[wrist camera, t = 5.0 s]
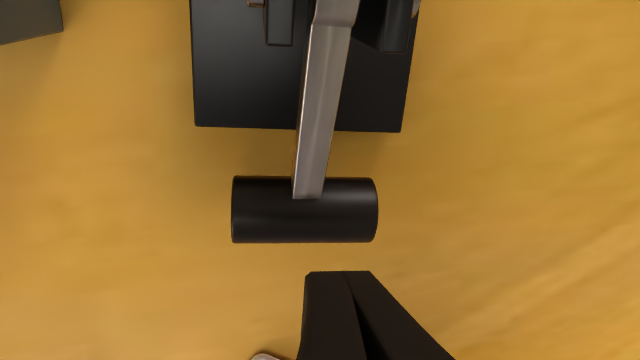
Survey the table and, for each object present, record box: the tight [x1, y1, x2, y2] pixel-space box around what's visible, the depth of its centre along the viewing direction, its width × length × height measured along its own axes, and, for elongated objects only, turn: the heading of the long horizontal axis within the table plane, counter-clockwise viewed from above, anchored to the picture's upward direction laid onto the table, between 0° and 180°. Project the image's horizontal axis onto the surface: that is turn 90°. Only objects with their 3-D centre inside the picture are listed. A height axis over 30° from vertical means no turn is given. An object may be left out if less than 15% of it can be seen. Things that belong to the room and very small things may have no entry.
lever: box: [231, 0, 378, 243], centre depth 11 cm, size 16×5×2 cm, turn 175°
